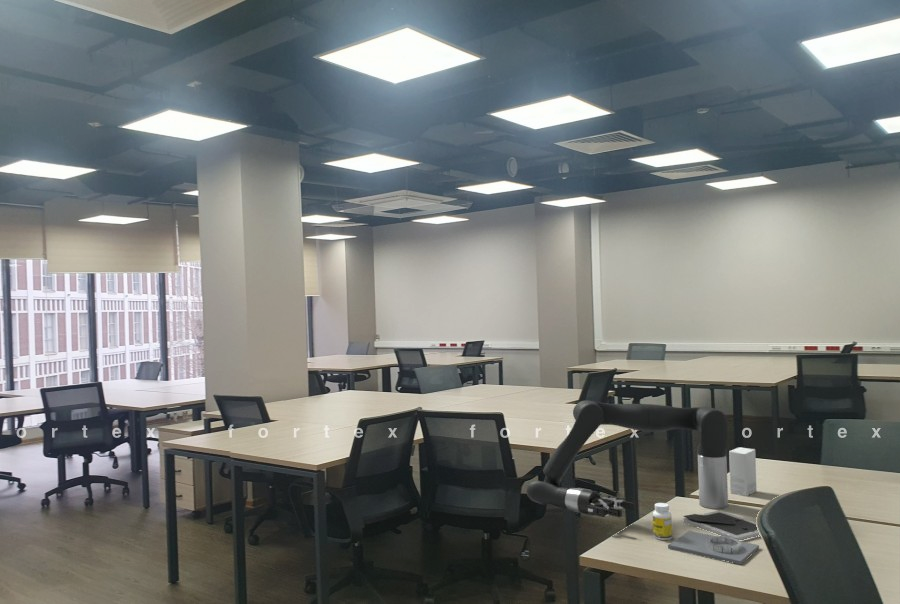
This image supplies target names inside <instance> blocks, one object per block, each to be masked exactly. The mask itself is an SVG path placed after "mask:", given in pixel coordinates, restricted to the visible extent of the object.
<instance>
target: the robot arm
mask: <svg viewBox="0 0 900 604" xmlns="http://www.w3.org/2000/svg"><path fill="white" fill-rule="evenodd" d="M572 415H573V418H574V424H573V426H572V427H571V429H570V431H569V433H568V434H567V436H566V437H565V438H564V440H563V441H562V442H561V443H560V444H559V445H558V446H557V447H556V449H555V450H554V451H553V452H552V453H551V455H550V457H549V459H548V460H547V462H546V463H545V466H544V467H543V468H542V469H543V470H542V471H543V474H544V475H545V477H544V480H543V481H541V480H533V481H531V482H530V483H528V485H527V486H526V495H527V497H528V499H529V500H531V501H532V502H535V503H537V504H540V505H543V506H544V505H546V506H547V505H552V506H555V507H557V508H561V509H564V510H569V511H572V512H575V513H580V514H584V515H589V516H598V517H602V518H604V517H610V516H612V517H617V518H622V516H623V511H622V509H624V510H628V511H634V510H636V503H634V502H631V501H626V498H624V497H619V496H612V495H608V496H607V497H601V496H600V494H599V493H598V491H595V490H588V489H584V488H578V487H570V486H563V485H561V482H562V479H563V477H564V476H565V474H566V473H567V471H568V470H569V468H570V466H571V464H572V463H573V461H574V460H575V458H576V457H577V455H578V454H579V452H580V451H581V449H582V448H583V446H584V445H585V444H586V442H587V441H588V440H589V438H591V436H592V435H593V434H594V433H595V432H596V431H597V429H598V428H599V427H600V426H602V425H603V426H604V425H605V426H607V425H608V426H609V425H610V426H617V427H622V428H626V429H630V430H636V431H641V432H642V431H643V432H667V431H672V430H679V429H680V430H681V429H682V430H690V431H697V432H700V444H699V445H697V447H696V448H697V472H698V476H697V477H698V497H699V498H698V501H699V502H698V503H699V505H700V506H701V507H704V508H708V509H717V510H718V509H719V510H720V509H725V508H728V507H729V493H728V492H729V491H728V490H729V489H728V467H727V466H728V465H727V464H728V463H727V461H728V460H727V450H728V448H729V423H728V422H729V421H728V417H727V415H726V414H725V413H724V412H723V411H721V410H719V409H716V408H714V407H711V406H697V407H677V406H670V405H663V404H662V405H661V404H652V403H651V404H650V403H607V402H599V401H594V400H589V399H588V400H587V399H586V400H582V401H579V402H577V403H576V405H575V406H574V408H573V409H572Z"/></svg>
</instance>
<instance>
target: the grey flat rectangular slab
mask: <svg viewBox="0 0 900 604" xmlns="http://www.w3.org/2000/svg"><path fill="white" fill-rule="evenodd" d="M714 536H715V535H714V534H713V535H712V534H708V533H702V532H697V531H694V530H688V531H686V532H685V533H684V534H682V535H681V536H679V537H678V538H676V539H674V540H673V541H672V542H670V543H668V544H667V548H668V549H669V550H674V551H678V552H682V553H683V552H684V553H686V552H687V553H686V554H691V553H692V554H691V555H695V554H696V555H695V556H699V555H701V556H700V557H704V556H705V557H704V558H708V557H709V558H708V559H712V558H714V559H713V560H717V559H719V560H718V561H721V560H725V561H729V562H728V563H730V562H733V563H732V564H734V563H737V564H736V565H738V564H741V565H743V564H744V563H745V562H746V561H747V560H748V559H749V558H750V557H751V556H752V555H754V554H755V553H756V552H757V551H758V550H759V549H760V544H755V543H751V542H746V541H740V542H741V544H742V550H741V551H740V552H737V553H723V552H722V553H720V552H716V551H713V550H711V549H709V548H707V545H706V539H708V538H709V537H714ZM713 544H715V545H719V546H729V547H730V546H734V545H732V544H728V543H713ZM757 549H758V550H757ZM756 550H757V551H756ZM755 551H756V552H755ZM754 552H755V553H754ZM753 553H754V554H753ZM751 554H752V555H751ZM750 555H751V556H750ZM749 556H750V557H749ZM748 557H749V558H748ZM747 558H748V559H747ZM746 559H747V560H746ZM745 560H746V561H745ZM725 561H724V562H725ZM744 561H745V562H744Z"/></svg>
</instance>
